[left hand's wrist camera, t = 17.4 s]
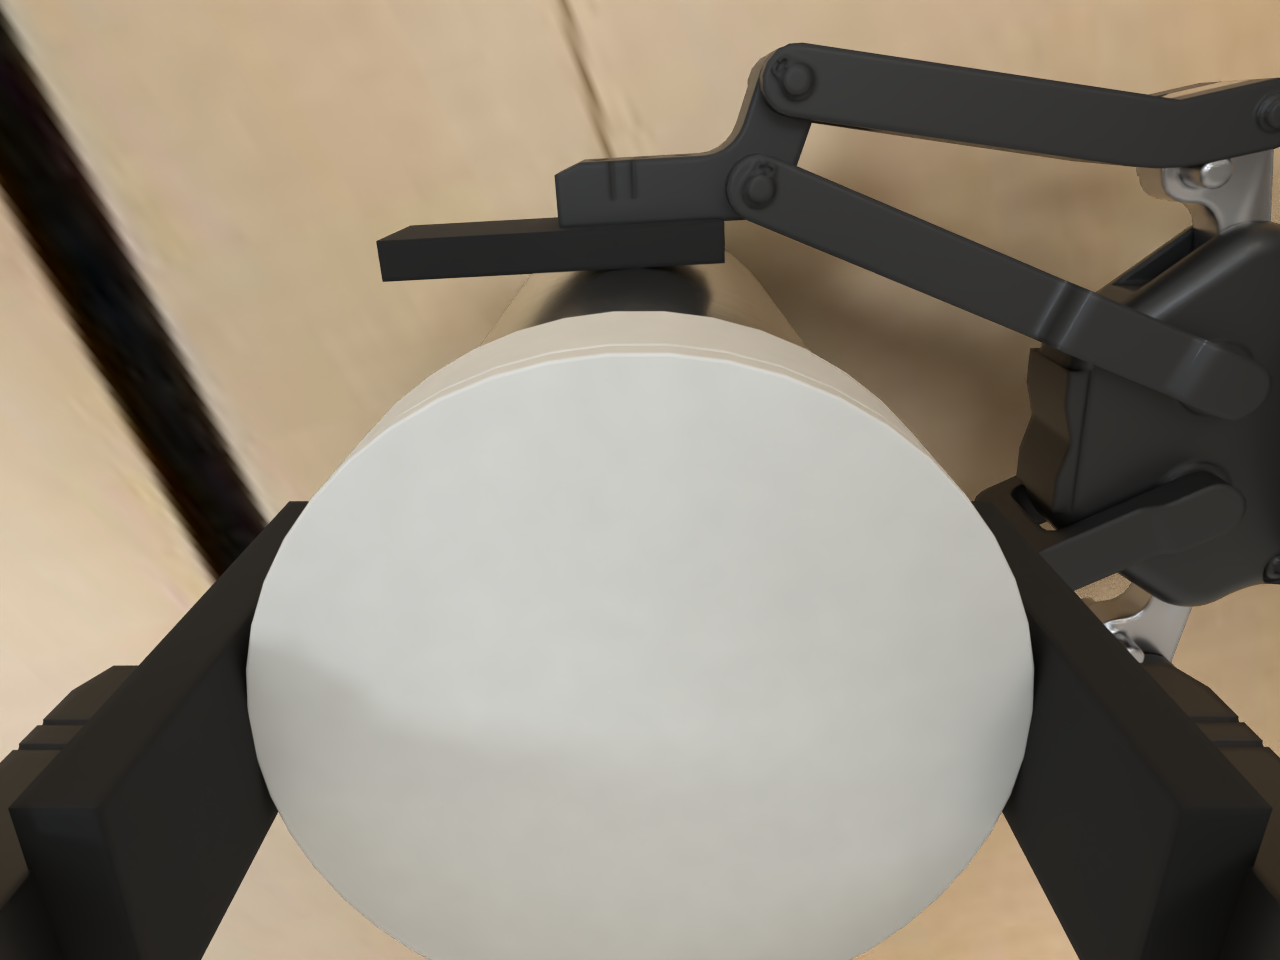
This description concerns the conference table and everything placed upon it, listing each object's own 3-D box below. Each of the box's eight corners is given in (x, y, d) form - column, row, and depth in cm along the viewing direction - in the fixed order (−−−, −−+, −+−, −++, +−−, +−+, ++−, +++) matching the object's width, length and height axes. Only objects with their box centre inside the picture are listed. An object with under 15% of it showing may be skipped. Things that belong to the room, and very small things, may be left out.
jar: (845, 394, 26) (1095, 732, 12) (623, 558, 28) (603, 1019, 13) (665, 158, 23) (701, 215, 9) (436, 354, 25) (174, 653, 11)
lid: (167, 556, 12) (73, 644, 10) (749, 152, 10) (776, 160, 8) (565, 967, 15) (553, 1099, 13) (1080, 711, 13) (1159, 819, 11)
